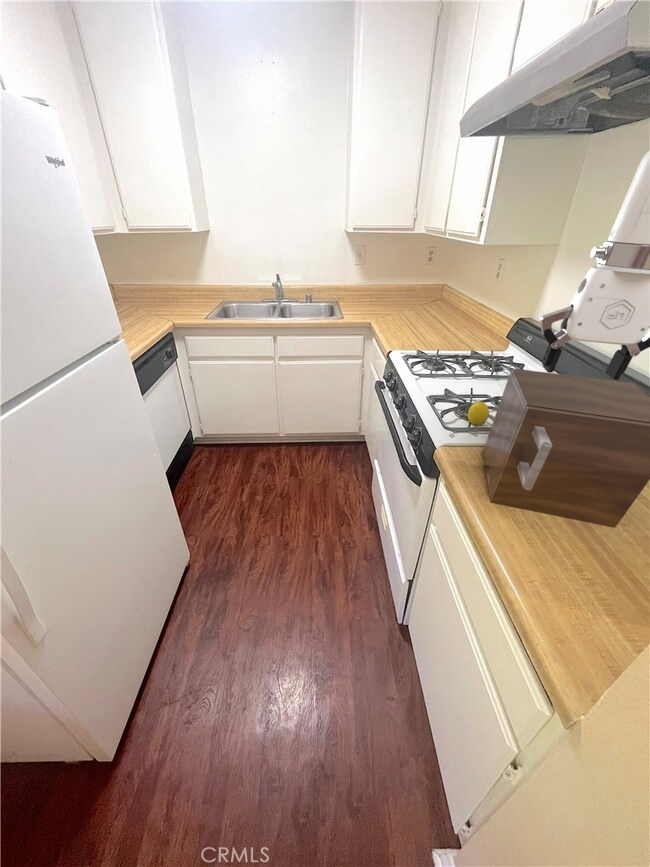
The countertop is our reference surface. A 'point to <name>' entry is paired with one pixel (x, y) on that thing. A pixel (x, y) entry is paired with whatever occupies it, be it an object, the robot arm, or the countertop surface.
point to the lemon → (478, 413)
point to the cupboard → (557, 407)
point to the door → (575, 466)
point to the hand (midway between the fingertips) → (578, 372)
